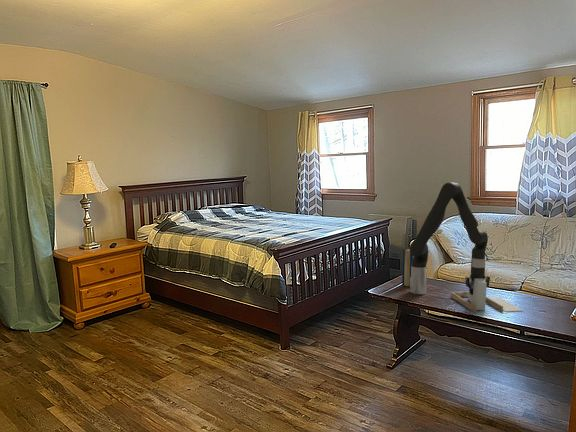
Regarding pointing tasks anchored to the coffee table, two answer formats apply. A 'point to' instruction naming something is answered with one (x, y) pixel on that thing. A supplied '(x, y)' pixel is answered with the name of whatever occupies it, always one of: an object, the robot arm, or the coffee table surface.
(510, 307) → the beige flat board
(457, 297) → the wooden u-shaped frame
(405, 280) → the book
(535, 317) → the coffee table surface
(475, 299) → the skincare box
